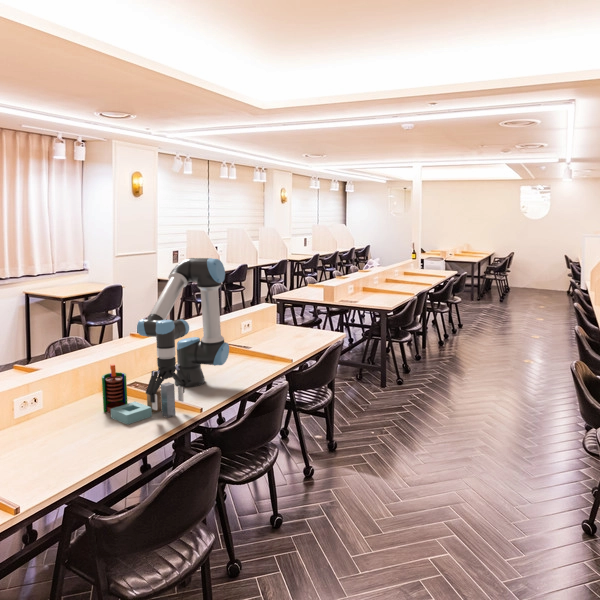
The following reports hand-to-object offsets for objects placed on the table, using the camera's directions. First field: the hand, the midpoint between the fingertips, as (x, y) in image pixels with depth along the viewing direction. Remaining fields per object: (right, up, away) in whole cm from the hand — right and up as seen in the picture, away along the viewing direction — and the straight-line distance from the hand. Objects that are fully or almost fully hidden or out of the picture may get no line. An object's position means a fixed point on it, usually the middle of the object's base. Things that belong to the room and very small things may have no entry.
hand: (168, 405), depth 229 cm
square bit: (0, -5, +1) cm, 5 cm away
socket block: (-16, -5, -1) cm, 16 cm away
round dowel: (-8, -4, +7) cm, 11 cm away
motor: (-26, -4, +9) cm, 27 cm away
